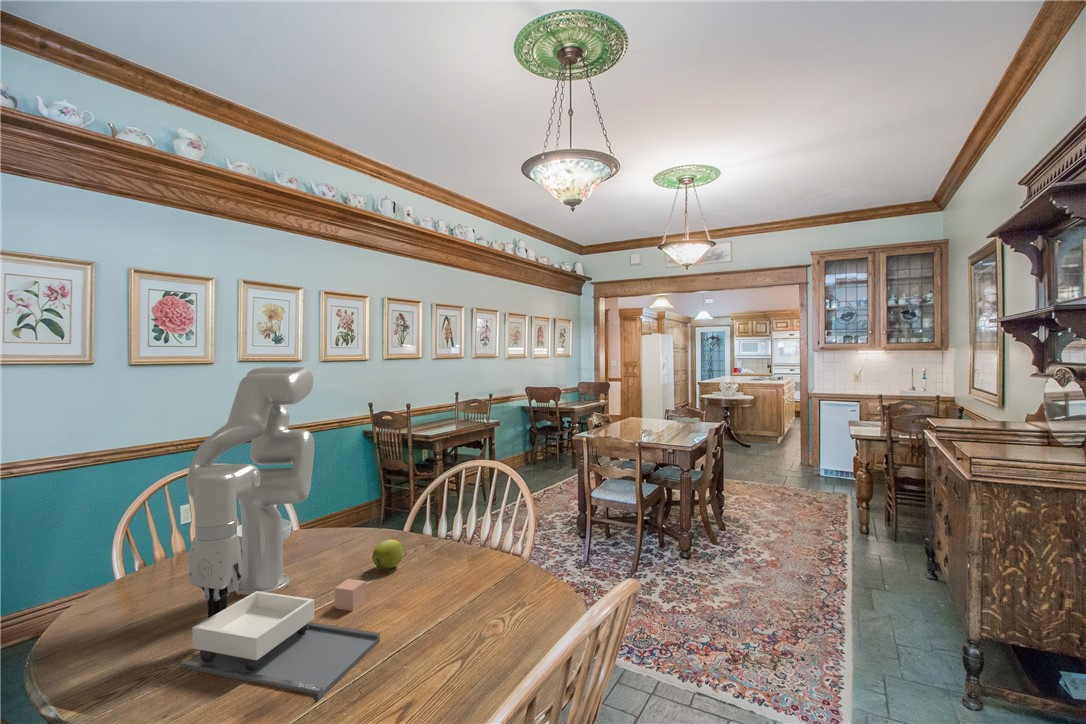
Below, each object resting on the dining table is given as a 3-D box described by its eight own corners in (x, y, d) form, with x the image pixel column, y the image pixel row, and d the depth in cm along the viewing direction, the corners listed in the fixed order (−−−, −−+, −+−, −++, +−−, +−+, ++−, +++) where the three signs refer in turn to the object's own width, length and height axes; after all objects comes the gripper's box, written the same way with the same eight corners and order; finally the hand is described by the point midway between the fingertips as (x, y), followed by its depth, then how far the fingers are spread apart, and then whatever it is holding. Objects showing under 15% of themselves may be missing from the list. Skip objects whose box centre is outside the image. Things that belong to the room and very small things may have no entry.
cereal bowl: (249, 563, 148) (248, 540, 148) (221, 552, 157) (220, 529, 157) (302, 544, 163) (302, 523, 163) (274, 535, 172) (273, 515, 171)
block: (335, 612, 120) (334, 587, 119) (348, 602, 124) (348, 578, 124) (353, 615, 118) (352, 590, 118) (365, 605, 123) (365, 581, 123)
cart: (193, 662, 99) (192, 627, 98) (257, 621, 114) (256, 591, 114) (257, 674, 94) (256, 638, 94) (314, 630, 110) (314, 599, 109)
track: (180, 672, 97) (180, 662, 97) (259, 621, 116) (258, 613, 116) (318, 700, 89) (318, 690, 89) (379, 641, 107) (379, 633, 107)
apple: (410, 565, 146) (409, 538, 146) (385, 576, 139) (385, 548, 138) (392, 559, 150) (391, 533, 150) (367, 570, 143) (366, 542, 143)
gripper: (172, 533, 105) (173, 620, 105) (228, 540, 101) (229, 630, 101) (205, 522, 112) (206, 603, 112) (258, 527, 108) (260, 611, 108)
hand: (217, 615), depth 106 cm, fingers closed
